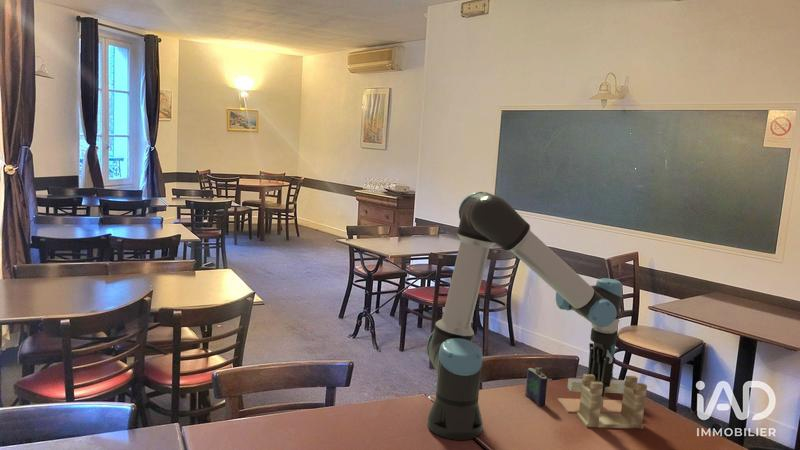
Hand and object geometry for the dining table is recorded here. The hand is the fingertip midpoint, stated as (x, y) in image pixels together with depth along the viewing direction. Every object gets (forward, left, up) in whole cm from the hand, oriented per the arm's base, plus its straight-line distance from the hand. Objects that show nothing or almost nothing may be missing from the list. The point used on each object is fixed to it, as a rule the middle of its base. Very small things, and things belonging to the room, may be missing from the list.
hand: (595, 402), depth 179 cm
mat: (0, 0, -1) cm, 1 cm away
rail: (0, 0, +4) cm, 4 cm away
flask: (-18, +4, -2) cm, 18 cm away
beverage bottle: (+8, +14, -2) cm, 17 cm away
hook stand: (0, -10, -1) cm, 10 cm away
